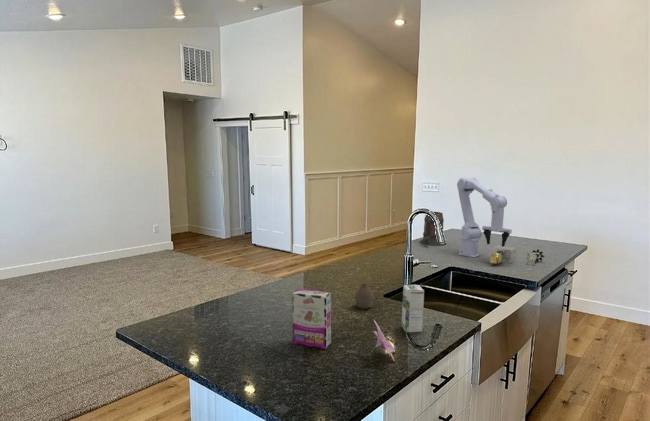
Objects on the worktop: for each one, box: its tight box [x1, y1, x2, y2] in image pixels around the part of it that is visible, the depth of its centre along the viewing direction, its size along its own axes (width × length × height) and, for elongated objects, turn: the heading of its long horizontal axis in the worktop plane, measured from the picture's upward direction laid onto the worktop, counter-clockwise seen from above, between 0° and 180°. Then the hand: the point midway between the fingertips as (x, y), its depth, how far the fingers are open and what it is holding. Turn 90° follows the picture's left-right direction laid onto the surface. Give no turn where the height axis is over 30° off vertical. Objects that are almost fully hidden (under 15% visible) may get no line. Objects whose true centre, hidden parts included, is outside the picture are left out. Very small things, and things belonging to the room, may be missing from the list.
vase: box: [354, 283, 374, 310], centre depth 163 cm, size 7×7×9 cm
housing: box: [491, 244, 517, 264], centre depth 233 cm, size 10×8×7 cm
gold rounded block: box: [489, 252, 504, 265], centre depth 225 cm, size 6×11×6 cm, turn 140°
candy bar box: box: [292, 288, 332, 350], centre depth 132 cm, size 11×5×16 cm, turn 69°
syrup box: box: [401, 284, 425, 333], centre depth 143 cm, size 6×6×14 cm
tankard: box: [419, 211, 447, 247], centre depth 271 cm, size 24×17×20 cm
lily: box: [367, 319, 396, 361], centre depth 124 cm, size 12×12×10 cm
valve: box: [526, 249, 545, 266], centre depth 228 cm, size 7×7×12 cm
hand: (495, 245), depth 226 cm, fingers open, 7 cm apart
